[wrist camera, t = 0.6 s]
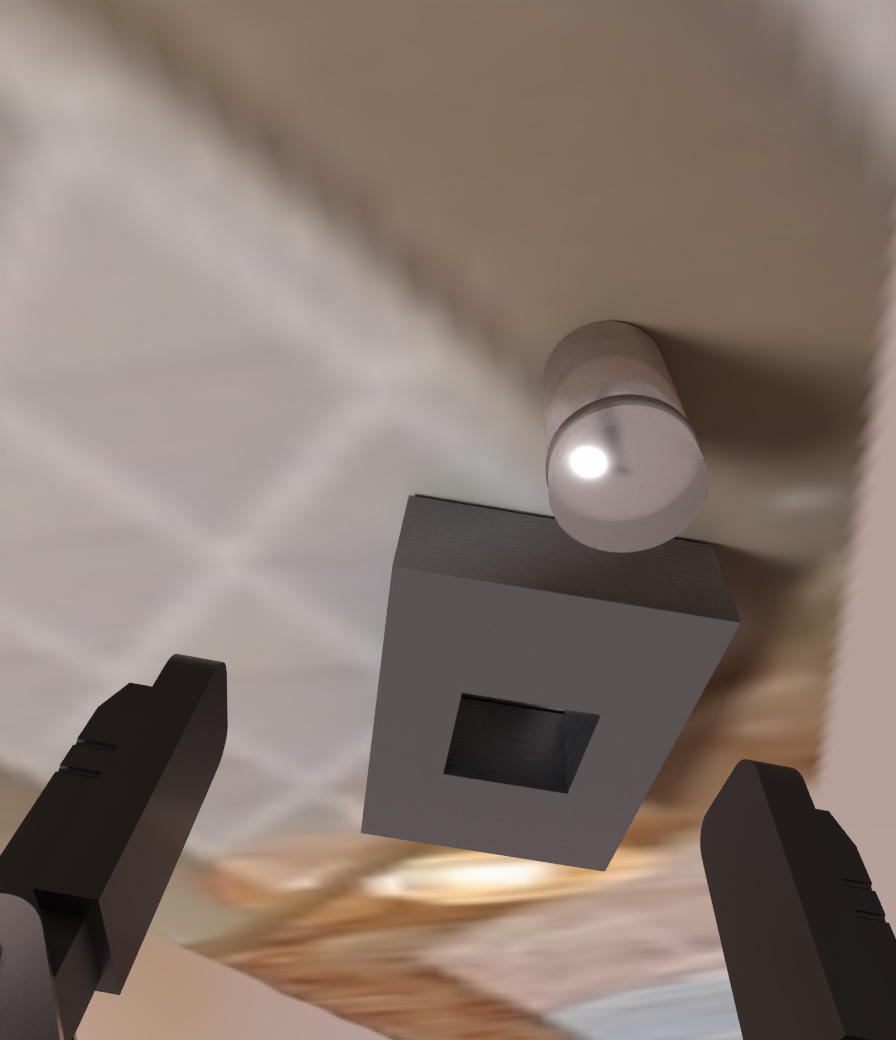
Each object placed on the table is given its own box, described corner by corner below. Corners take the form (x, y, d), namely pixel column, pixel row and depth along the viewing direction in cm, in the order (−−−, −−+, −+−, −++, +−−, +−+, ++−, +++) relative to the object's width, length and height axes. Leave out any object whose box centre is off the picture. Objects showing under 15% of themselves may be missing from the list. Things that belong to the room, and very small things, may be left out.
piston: (556, 310, 26) (568, 407, 20) (683, 331, 26) (735, 435, 20) (530, 422, 29) (532, 540, 22) (644, 441, 29) (679, 564, 23)
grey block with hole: (409, 495, 32) (392, 566, 28) (713, 545, 32) (740, 622, 28) (375, 756, 43) (360, 832, 39) (597, 792, 44) (604, 871, 40)
